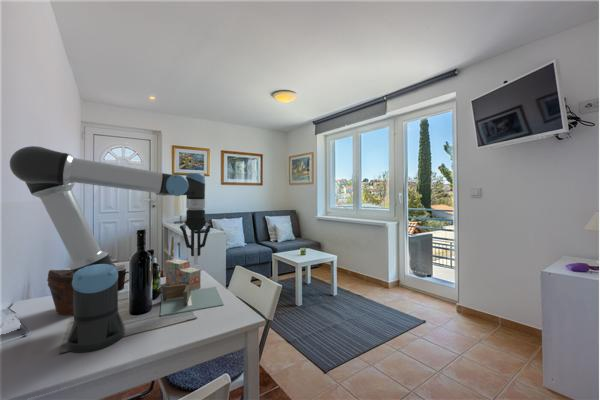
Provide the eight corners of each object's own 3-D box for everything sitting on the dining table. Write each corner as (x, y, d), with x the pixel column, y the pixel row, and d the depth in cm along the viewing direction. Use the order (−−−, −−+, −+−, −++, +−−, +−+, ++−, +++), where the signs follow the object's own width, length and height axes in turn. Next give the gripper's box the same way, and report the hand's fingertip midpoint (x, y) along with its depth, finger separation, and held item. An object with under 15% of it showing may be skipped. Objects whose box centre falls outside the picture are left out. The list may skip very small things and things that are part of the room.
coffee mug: (101, 290, 135) (101, 270, 134) (119, 285, 142) (119, 266, 142) (116, 294, 130) (115, 273, 129) (134, 288, 137) (133, 268, 137)
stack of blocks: (201, 287, 138) (200, 263, 138) (189, 291, 133) (189, 266, 133) (176, 280, 150) (176, 258, 150) (165, 283, 145) (165, 260, 145)
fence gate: (183, 306, 114) (183, 292, 114) (186, 296, 124) (186, 283, 124) (187, 305, 114) (186, 291, 114) (189, 296, 125) (189, 283, 124)
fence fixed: (190, 297, 125) (190, 282, 125) (162, 301, 120) (162, 285, 120) (190, 296, 127) (190, 280, 126) (162, 300, 122) (162, 284, 122)
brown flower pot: (117, 299, 123) (115, 259, 123) (77, 320, 103) (74, 273, 103) (81, 298, 125) (79, 259, 124) (34, 319, 105) (32, 273, 105)
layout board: (223, 305, 117) (223, 304, 117) (160, 316, 106) (160, 315, 106) (215, 287, 138) (215, 286, 138) (162, 295, 128) (162, 294, 128)
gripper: (178, 209, 113) (178, 266, 113) (211, 209, 117) (211, 264, 118) (180, 208, 120) (180, 262, 121) (211, 208, 124) (211, 260, 125)
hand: (195, 263), depth 119 cm, fingers closed
